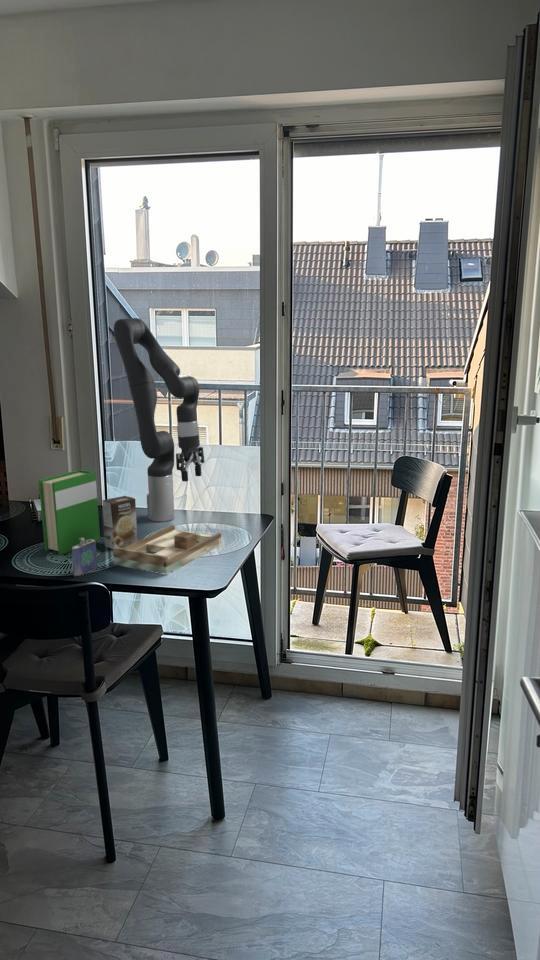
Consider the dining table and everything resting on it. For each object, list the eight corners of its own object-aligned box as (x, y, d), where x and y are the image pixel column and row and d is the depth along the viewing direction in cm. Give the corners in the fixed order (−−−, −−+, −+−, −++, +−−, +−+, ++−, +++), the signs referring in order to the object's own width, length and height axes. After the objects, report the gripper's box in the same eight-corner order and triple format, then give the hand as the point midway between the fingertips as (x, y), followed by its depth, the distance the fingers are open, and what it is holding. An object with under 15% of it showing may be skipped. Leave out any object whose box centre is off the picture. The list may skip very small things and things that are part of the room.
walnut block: (174, 547, 222) (174, 535, 221) (183, 543, 226) (183, 531, 225) (187, 549, 219) (187, 538, 218) (196, 545, 224) (195, 533, 223)
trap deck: (114, 564, 214) (113, 547, 213) (172, 536, 241) (172, 521, 240) (166, 575, 205) (165, 557, 204) (221, 544, 232) (220, 528, 231)
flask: (78, 577, 204) (75, 543, 202) (70, 575, 206) (67, 541, 203) (99, 567, 212) (97, 534, 210) (92, 566, 214) (89, 533, 211)
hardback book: (60, 554, 224) (54, 483, 218) (45, 550, 228) (38, 480, 222) (100, 539, 238) (95, 472, 233) (85, 535, 242) (80, 469, 236)
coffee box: (114, 550, 227) (111, 503, 223) (104, 546, 231) (101, 500, 227) (138, 544, 233) (135, 498, 229) (127, 539, 238) (125, 494, 234)
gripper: (190, 430, 251) (194, 473, 255) (167, 437, 239) (171, 482, 243) (208, 431, 248) (211, 474, 251) (185, 437, 236) (189, 483, 239)
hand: (191, 478), depth 247 cm, fingers open, 8 cm apart
